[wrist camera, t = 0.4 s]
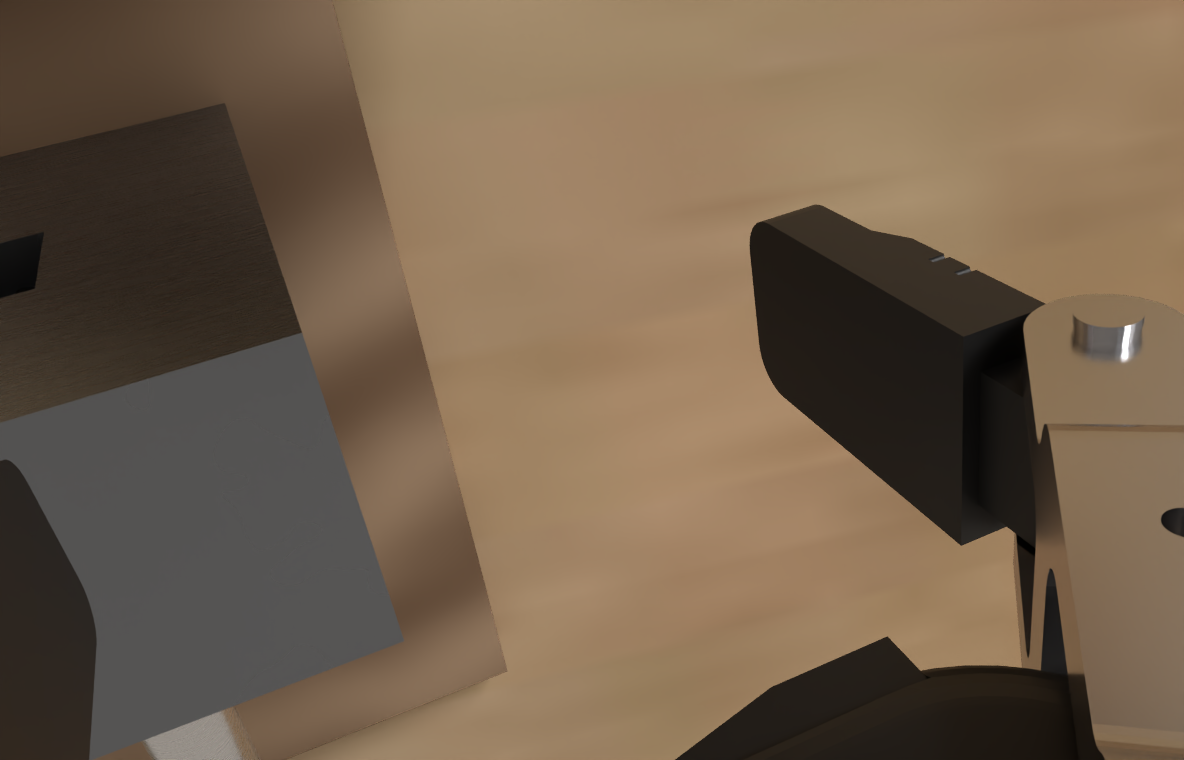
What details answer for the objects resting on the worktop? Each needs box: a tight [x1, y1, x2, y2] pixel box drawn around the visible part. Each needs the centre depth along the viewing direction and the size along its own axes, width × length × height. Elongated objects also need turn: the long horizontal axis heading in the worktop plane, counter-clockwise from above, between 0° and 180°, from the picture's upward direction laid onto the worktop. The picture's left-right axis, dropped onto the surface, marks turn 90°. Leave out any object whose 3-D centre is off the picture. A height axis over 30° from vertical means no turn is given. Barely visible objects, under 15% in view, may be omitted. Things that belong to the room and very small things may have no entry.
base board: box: [0, 0, 507, 760], centre depth 28 cm, size 26×16×2 cm, turn 8°
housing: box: [0, 103, 404, 760], centre depth 20 cm, size 6×10×12 cm, turn 98°
